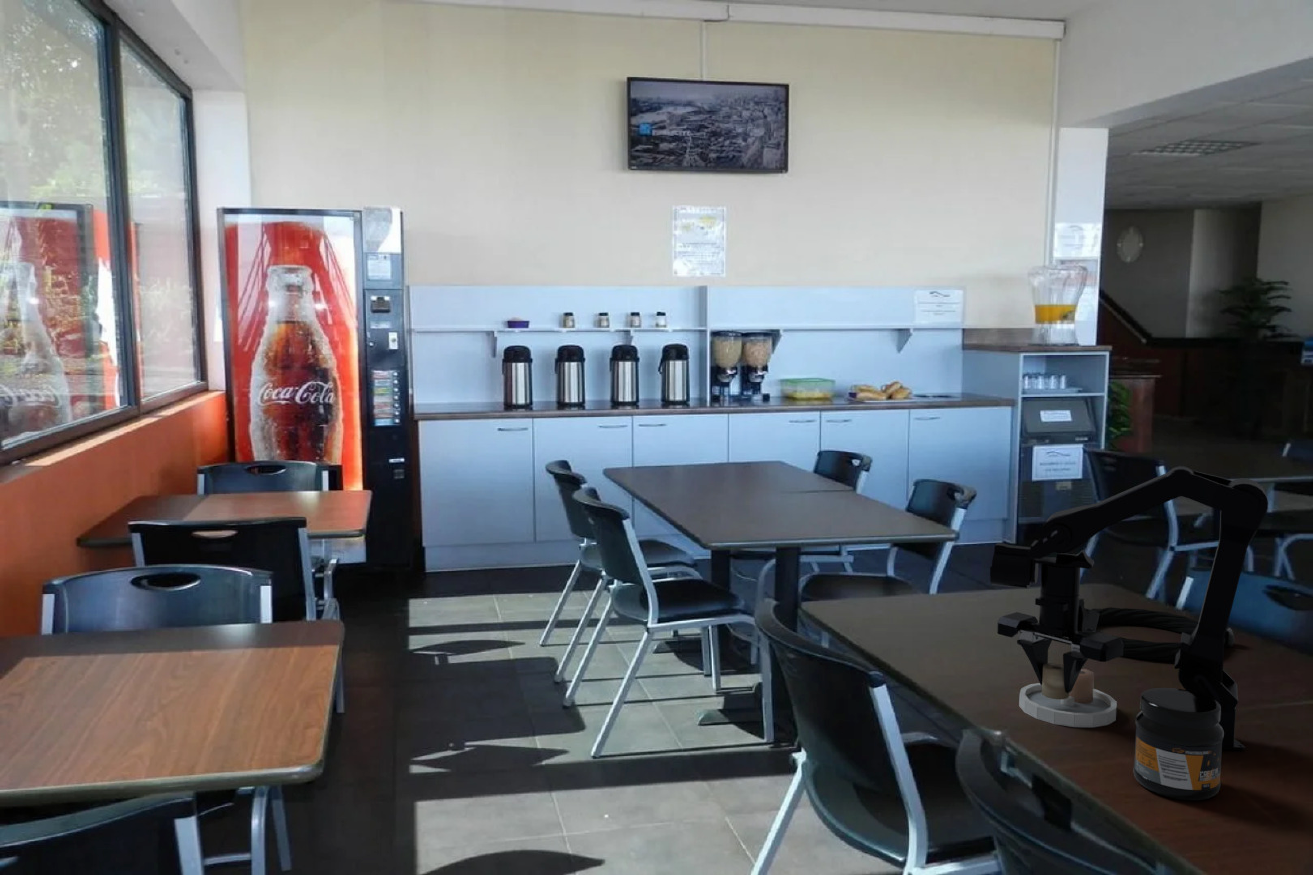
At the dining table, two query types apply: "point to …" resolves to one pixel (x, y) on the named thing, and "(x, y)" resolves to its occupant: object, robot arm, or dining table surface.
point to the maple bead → (1053, 681)
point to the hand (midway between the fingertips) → (1055, 688)
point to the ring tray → (1068, 708)
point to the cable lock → (1151, 619)
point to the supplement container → (1178, 744)
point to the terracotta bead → (1083, 687)
